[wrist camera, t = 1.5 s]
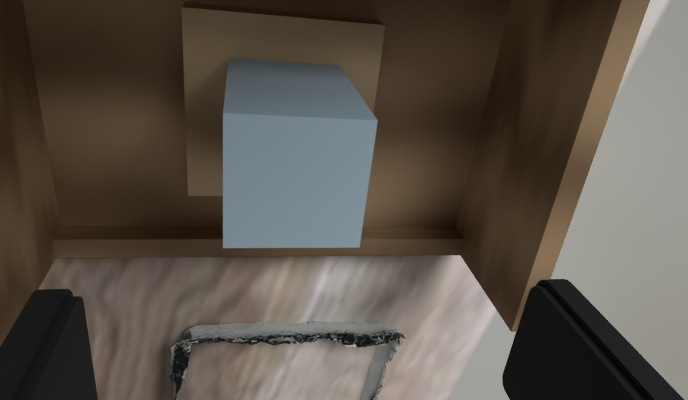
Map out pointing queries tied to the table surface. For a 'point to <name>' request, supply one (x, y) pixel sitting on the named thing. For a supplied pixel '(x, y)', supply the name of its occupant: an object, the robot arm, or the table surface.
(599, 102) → the crate
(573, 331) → the robot arm
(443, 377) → the table surface
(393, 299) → the table surface
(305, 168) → the block
